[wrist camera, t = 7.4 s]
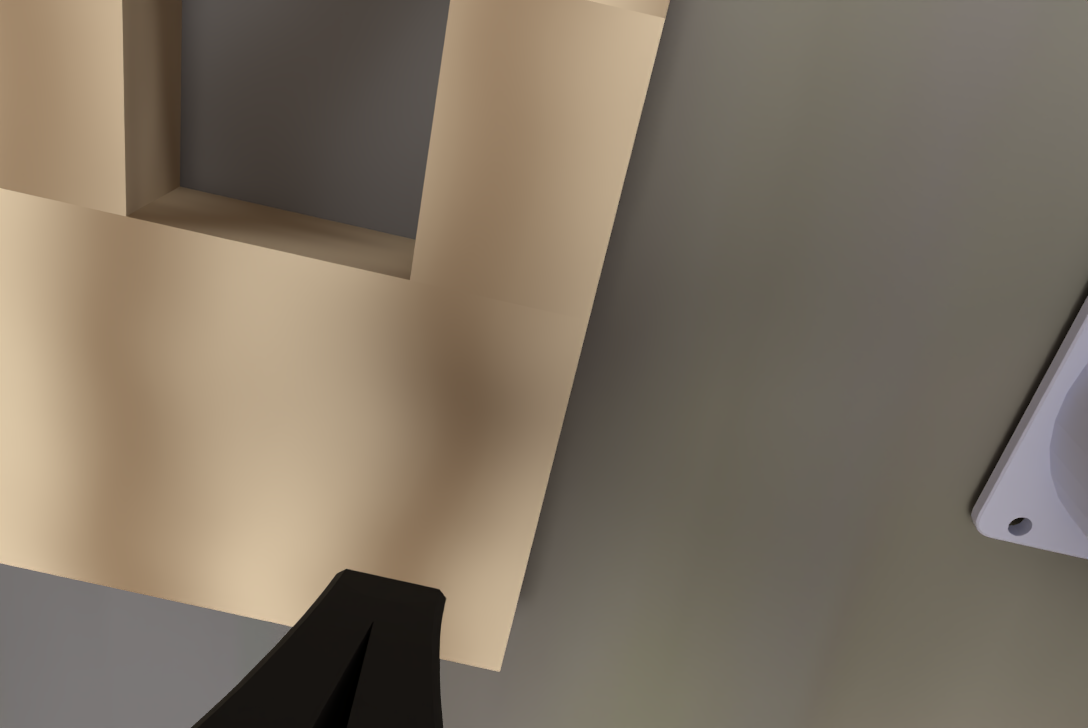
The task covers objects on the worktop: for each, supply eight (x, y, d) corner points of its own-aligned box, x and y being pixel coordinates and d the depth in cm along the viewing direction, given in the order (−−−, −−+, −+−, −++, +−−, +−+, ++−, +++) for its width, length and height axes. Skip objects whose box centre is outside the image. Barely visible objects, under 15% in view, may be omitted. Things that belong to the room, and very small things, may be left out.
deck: (673, -51, 16) (691, -47, 12) (511, 600, 23) (488, 740, 19) (-579, -342, 15) (-1007, -442, 11) (-343, 413, 22) (-552, 516, 18)
